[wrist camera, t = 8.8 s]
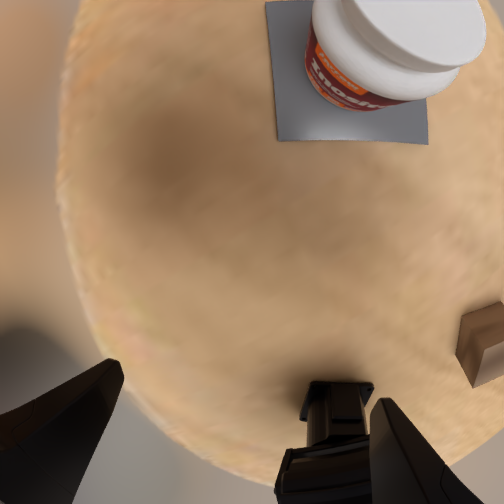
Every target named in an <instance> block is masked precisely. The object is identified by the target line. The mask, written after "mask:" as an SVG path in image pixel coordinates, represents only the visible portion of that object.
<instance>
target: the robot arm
mask: <svg viewBox="0 0 504 504" xmlns="http://www.w3.org/2000/svg"><path fill="white" fill-rule="evenodd" d="M123 382H124V374H123V371H122V368H121V365H120V362H119V361H118V360H114V359H111V358H108V359H106V360H104V361H102V362H101V363H99V364H97V365H95V366H94V367H92V368H90V369H88V370H86V371H85V372H83V373H81V374H79V375H77V376H76V377H74V378H72V379H70V380H68V381H67V382H65V383H63V384H61V385H59V386H57V387H56V388H54V389H52V390H50V391H48V392H47V393H45V394H43V395H41V396H39V397H37V398H36V400H35V399H34V400H32V401H30V402H28V403H26V404H24V405H22V406H20V407H18V408H16V409H14V410H11V411H9V412H6V413H4V414H1V415H0V504H72V502H73V500H74V497H75V495H76V492H77V490H78V487H79V485H80V483H81V480H82V478H83V476H84V474H85V471H86V469H87V467H88V465H89V462H90V460H91V458H92V456H93V454H94V451H95V449H96V447H97V445H98V443H99V441H100V439H101V436H102V434H103V432H104V430H105V428H106V426H107V424H108V422H109V420H110V417H111V415H112V413H113V410H114V407H115V405H116V402H117V399H118V396H119V393H120V391H121V388H122V385H123ZM373 390H374V386H373V384H370V383H336V382H319V381H313V382H311V383H310V384H309V388H308V391H307V394H306V397H305V401H304V404H303V407H302V410H301V413H300V417H299V420H300V421H305V422H307V447H304V448H297V449H293V448H290V449H286V452H285V455H284V457H283V460H282V463H281V467H280V470H279V473H278V476H277V480H276V483H275V488H274V494H275V495H276V497H277V501H278V504H484V503H483V502H482V501H481V500H480V499H479V498H478V497H477V496H476V495H474V494H473V493H472V492H471V491H470V490H469V489H468V488H467V487H466V486H465V485H464V484H463V483H462V482H461V481H460V480H459V479H458V478H457V476H456V475H455V474H454V473H453V472H452V471H451V470H450V468H449V467H448V466H447V465H446V464H445V462H444V461H443V460H442V459H441V457H440V456H439V455H438V454H437V452H436V451H435V450H434V449H433V448H432V446H431V445H430V444H429V443H428V442H427V440H426V439H425V438H424V437H423V436H422V434H421V433H420V432H419V431H418V430H417V428H416V427H415V426H414V425H413V423H412V422H411V421H410V420H409V419H408V417H407V416H406V415H405V414H404V413H403V412H402V410H401V409H400V408H399V407H398V406H397V404H396V403H395V402H394V401H393V400H392V399H391V398H379V399H378V401H377V402H376V404H375V406H374V408H373V409H372V411H371V414H370V434H368V431H367V424H366V417H365V410H364V407H365V405H366V404H367V402H368V400H369V398H370V396H371V394H372V392H373Z"/></svg>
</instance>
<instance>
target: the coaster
mask: <svg viewBox="0 0 504 504" xmlns="http://www.w3.org/2000/svg"><path fill="white" fill-rule="evenodd" d="M313 3H314V0H293V1H273V2H265V5H266V13H267V22H268V31H269V40H270V49H271V59H272V70H273V80H274V91H275V103H276V115H277V128H278V141H300V140H360V141H384V142H400V143H413V144H424V145H428V120H427V105H426V98H424V99H421V100H416V101H411V102H406V103H402V104H398V105H393V106H390V107H386V108H382V109H378V110H374V111H368V112H359V111H350V110H346V109H343V108H341V107H338V106H336V105H334V104H333V103H331V102H329V101H328V100H327V99H325V98H324V97H323V96H322V95H321V94H320V93H319V92H318V91H317V90H316V89H315V87H314V86H313V85H312V83H311V81H310V79H309V77H308V74H307V71H306V67H305V50H306V44H307V38H308V31H309V25H310V20H311V13H312V7H313Z"/></svg>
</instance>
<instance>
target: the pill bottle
mask: <svg viewBox="0 0 504 504" xmlns="http://www.w3.org/2000/svg"><path fill="white" fill-rule="evenodd" d="M485 41H486V24H485V19H484V16H483V13H482V10H481V8H480V5H479V3H478V1H477V0H314V3H313V7H312V13H311V20H310V25H309V31H308V38H307V44H306V50H305V67H306V71H307V74H308V77H309V79H310V81H311V83H312V85H313V86H314V87H315V89H316V90H317V91H318V92H319V93H320V94H321V95H322V96H323V97H324V98H325V99H327V100H328V101H329V102H331V103H333V104H334V105H336V106H338V107H341V108H343V109H346V110H350V111H359V112H368V111H374V110H378V109H382V108H386V107H390V106H393V105H398V104H402V103H406V102H411V101H416V100H421V99H424V98H427V97H431V96H433V95H436V94H438V93H440V92H441V91H443V90H444V89H446V88H447V87H448V86H449V85H450V84H451V83H452V82H453V81H454V79H455V77H456V76H457V74H458V72H459V70H460V67H461V66H463V65H465V64H468V63H470V62H471V61H473V60H474V59H475V58H477V57H478V56H479V54H480V53H481V51H482V50H483V47H484V45H485Z"/></svg>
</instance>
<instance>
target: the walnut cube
mask: <svg viewBox="0 0 504 504" xmlns="http://www.w3.org/2000/svg"><path fill="white" fill-rule="evenodd" d="M455 355H456V357H457V359H458V361H459V363H460V365H461V367H462V368H463V370H464V372H465V374H466V376H467V378H468V380H469V382H470V384H471V386H472V388H475V387H478V386H480V385H482V384H485V383H487V382H489V381H491V380H493V379H496V378H498V377H500V376H502V375H504V305H503V304H502V302H498V303H496V304H493V305H491V306H488V307H485V308H483V309H480V310H477V311H475V312H472V313H469V314H466V315H463V316H462V318H461V325H460V331H459V337H458V343H457V349H456V354H455Z"/></svg>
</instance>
